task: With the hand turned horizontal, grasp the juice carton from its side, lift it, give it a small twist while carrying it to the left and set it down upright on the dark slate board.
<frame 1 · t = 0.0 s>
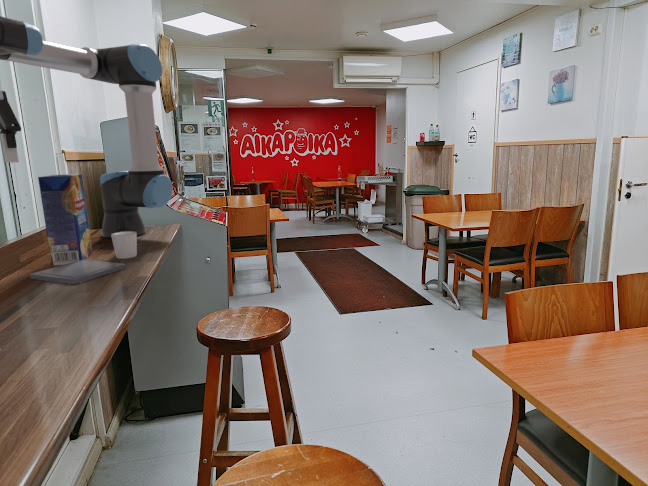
juice carton: (73, 259, 123), on the table
slate board: (80, 273, 108), on the table
white cup: (126, 256, 126), on the table
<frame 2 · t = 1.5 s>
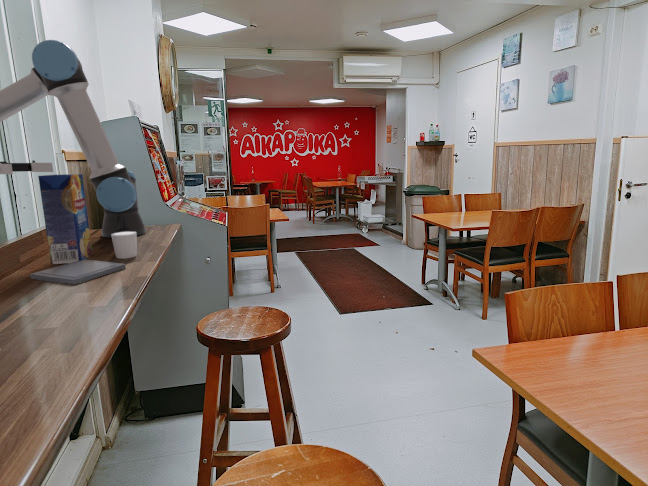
hand: (32, 168, 119), 26 cm above the table, tool horizontal, fingers open, 13 cm apart
nothing on the table moved.
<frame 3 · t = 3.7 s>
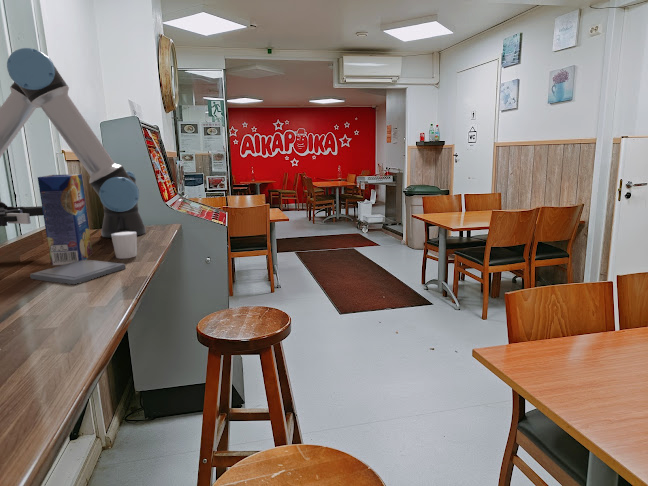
hand: (49, 214, 120), 13 cm above the table, tool horizontal, fingers open, 13 cm apart
nothing on the table moved.
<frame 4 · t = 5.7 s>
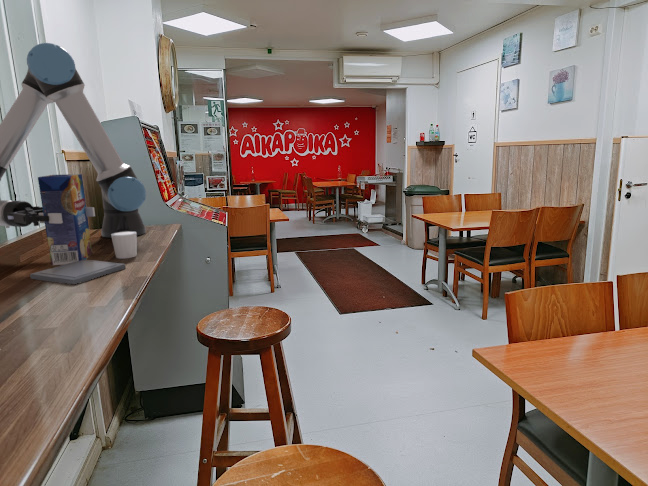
hand: (78, 215, 119), 13 cm above the table, tool horizontal, fingers closed on juice carton, 11 cm apart
juice carton: (72, 259, 123), on the table, touching gripper
everything else where it was.
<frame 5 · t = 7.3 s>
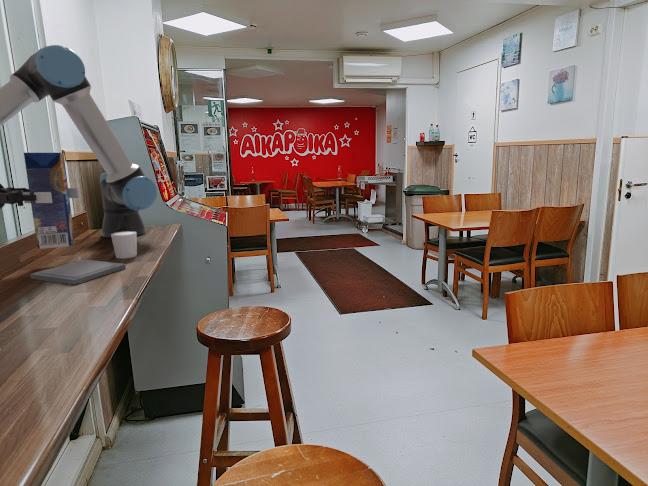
hand: (65, 195, 112), 19 cm above the table, tool horizontal, fingers closed on juice carton, 11 cm apart
juice carton: (57, 244, 115), point 6 cm above the table, touching gripper
everything else where it was.
when the fingers open (15 cm above the table, at t = 9.1 s): juice carton drops 1 cm, resting on slate board.
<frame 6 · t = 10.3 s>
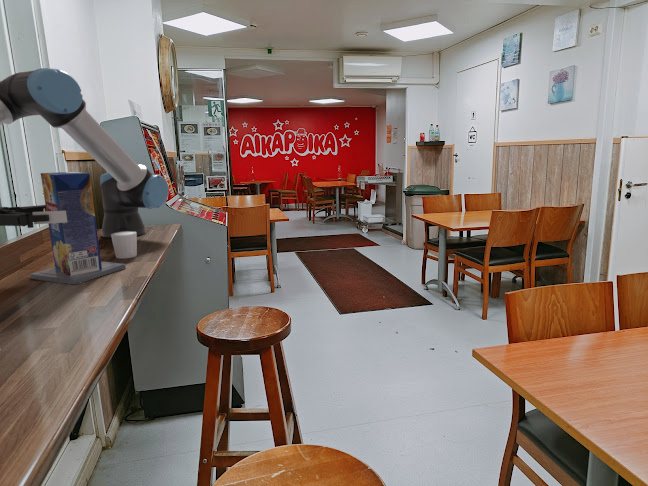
hand: (73, 212, 105), 16 cm above the table, tool horizontal, fingers open, 13 cm apart
juice carton: (78, 269, 108), point 1 cm above the table, touching slate board
everything else where it was.
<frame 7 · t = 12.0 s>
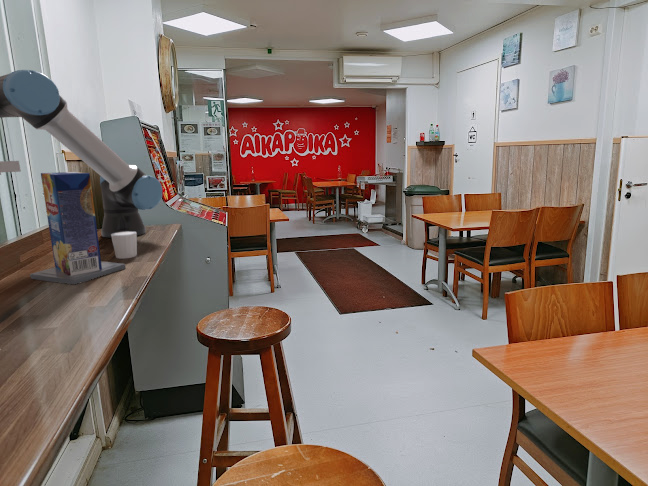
hand: (10, 167, 102), 27 cm above the table, tool horizontal, fingers open, 13 cm apart
nothing on the table moved.
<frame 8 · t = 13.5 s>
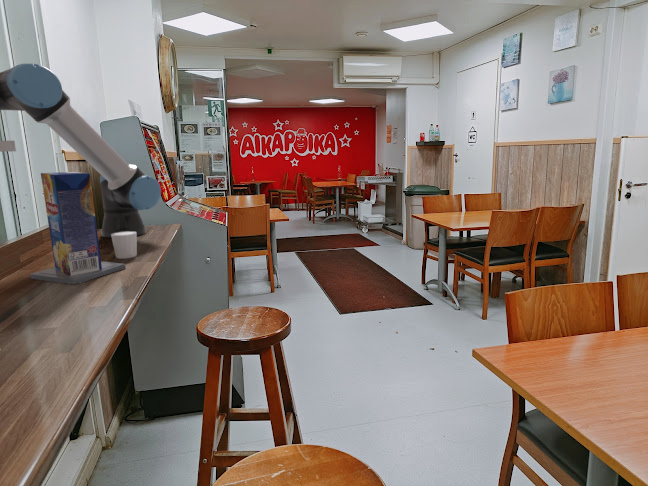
hand: (4, 145, 103), 32 cm above the table, tool horizontal, fingers open, 13 cm apart
nothing on the table moved.
at the end: juice carton 0.2 cm from the slate board (horizontally); juice carton tilted 0°; the gripper is holding nothing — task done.
